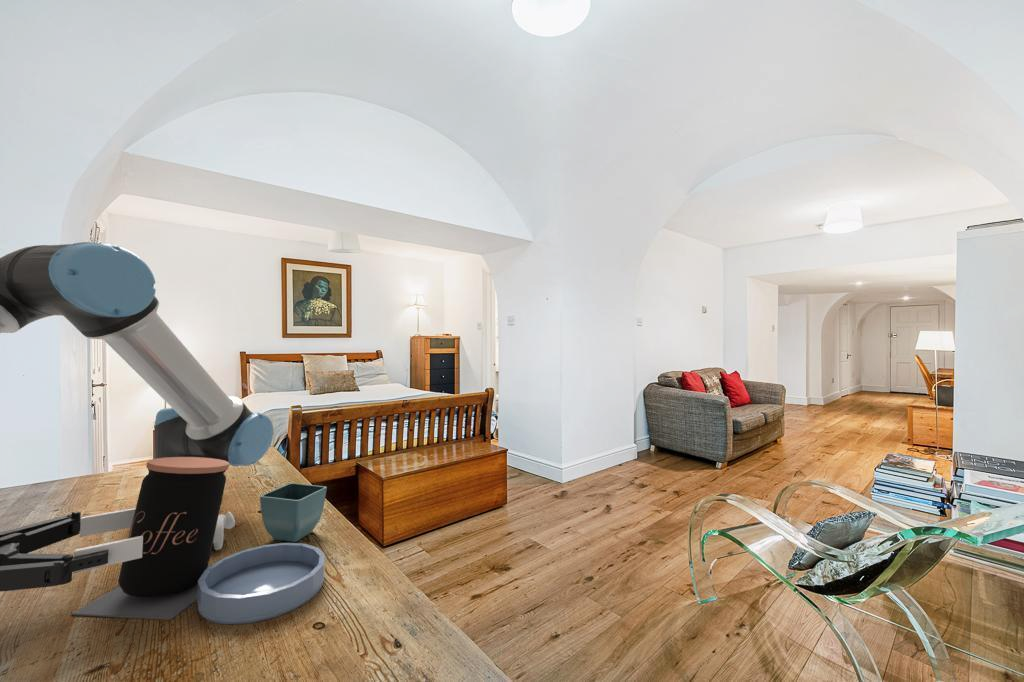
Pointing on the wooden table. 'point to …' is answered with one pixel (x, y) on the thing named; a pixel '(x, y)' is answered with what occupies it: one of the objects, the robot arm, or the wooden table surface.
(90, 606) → the mat
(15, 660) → the wooden table surface
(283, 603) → the bowl
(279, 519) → the flower pot
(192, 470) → the coffee jar
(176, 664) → the wooden table surface
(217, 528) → the elephant figurine
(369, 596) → the wooden table surface
